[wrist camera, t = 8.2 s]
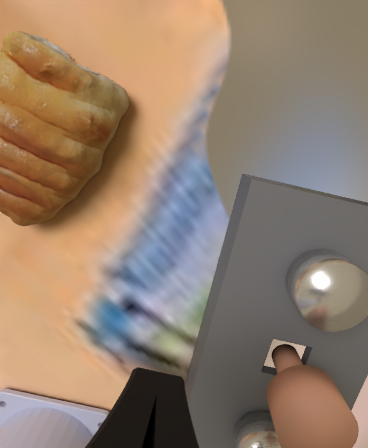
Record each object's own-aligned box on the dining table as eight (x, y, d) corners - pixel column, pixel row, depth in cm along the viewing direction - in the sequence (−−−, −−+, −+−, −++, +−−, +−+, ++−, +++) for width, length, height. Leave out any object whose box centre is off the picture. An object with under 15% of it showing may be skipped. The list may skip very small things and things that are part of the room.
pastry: (76, 238, 18) (45, 260, 15) (-27, 187, 18) (-85, 197, 14) (140, 91, 16) (123, 75, 12) (25, 29, 16) (-29, -8, 12)
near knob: (317, 289, 18) (359, 338, 13) (265, 277, 18) (289, 323, 13) (336, 239, 17) (387, 273, 12) (282, 227, 17) (313, 256, 12)
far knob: (268, 419, 20) (289, 498, 16) (223, 409, 20) (230, 485, 16) (283, 381, 20) (309, 452, 15) (235, 371, 20) (247, 439, 15)
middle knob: (302, 384, 17) (341, 470, 13) (248, 372, 17) (267, 454, 12) (321, 336, 16) (370, 410, 12) (264, 324, 16) (291, 393, 12)
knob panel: (296, 448, 22) (312, 495, 19) (174, 421, 21) (171, 465, 18) (396, 209, 17) (437, 222, 14) (242, 173, 17) (251, 179, 14)
